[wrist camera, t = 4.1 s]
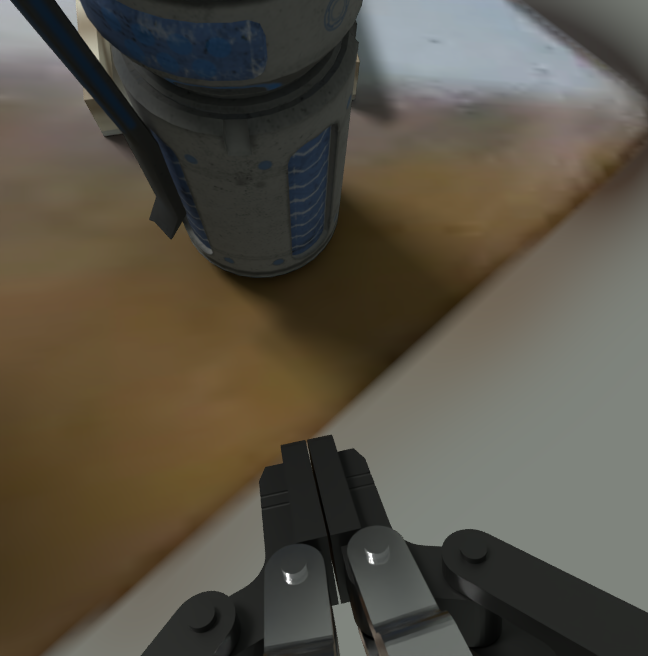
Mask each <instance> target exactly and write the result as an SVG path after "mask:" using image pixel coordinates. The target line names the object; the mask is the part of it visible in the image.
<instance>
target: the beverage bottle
mask: <svg viewBox="0 0 648 656" xmlns="http://www.w3.org/2000/svg"><path fill="white" fill-rule="evenodd" d="M10 1H11V2H12V3H13V4H14V5H15V7H16V8H17V9H18V10H19V11H20V13H21V14H22V15H23V16H24V17H25V18H26V20H27V21H28V22H29V23H30V24H31V26H32V27H33V28H34V29H35V30H36V31H37V33H38V34H39V35H40V36H41V37H42V39H43V40H44V41H45V42H46V43H47V45H48V46H49V47H50V48H51V49H52V50H53V52H54V53H55V54H56V55H57V56H58V58H59V59H60V60H61V61H62V62H63V63H64V65H65V66H66V67H67V68H68V69H69V71H70V72H71V73H72V74H73V75H74V76H75V78H76V79H77V80H78V81H79V82H80V84H81V85H82V86H83V87H84V88H85V89H86V91H87V92H88V93H89V94H90V95H91V97H92V98H93V99H94V100H95V101H96V103H97V104H98V105H99V106H100V107H101V108H102V110H103V111H104V112H105V113H106V114H107V116H108V117H109V118H110V119H111V120H112V121H113V123H114V124H115V125H116V126H117V127H118V129H119V130H120V131H121V132H122V133H123V135H124V136H125V138H126V140H127V142H128V144H129V146H130V148H131V150H132V152H133V153H134V155H135V157H136V159H137V161H138V163H139V165H140V167H141V169H142V170H143V172H144V174H145V176H146V178H147V180H148V182H149V184H150V186H151V188H152V189H153V191H154V193H155V195H156V199H155V203H154V206H153V209H152V212H151V215H150V219H149V220H151V221H154V222H155V223H156V224H157V225H158V226H159V227H160V228H161V229H162V230H163V232H164V233H165V234H166V235H167V236H168V237H169V238H170V239H172V238H173V237H174V235H175V233H176V231H177V230H178V228H179V226H180V224H181V223H182V221H183V223H184V226H185V228H186V230H187V232H188V235H189V237H190V239H191V241H192V243H193V244H194V246H195V247H196V248H197V250H198V251H199V252H200V253H201V254H202V255H203V256H204V257H205V258H206V259H207V260H209V261H210V262H211V263H212V264H214V265H216V266H218V267H219V268H221V269H223V270H225V271H228V272H231V273H234V274H237V275H240V276H247V277H254V278H260V277H274V276H278V275H283V274H287V273H289V272H292V271H294V270H297V269H299V268H301V267H303V266H304V265H306V264H307V263H309V262H310V261H312V260H313V259H314V258H315V257H316V256H317V255H318V254H319V253H320V252H322V251H323V250H324V248H325V247H326V245H327V244H328V242H329V241H330V239H331V238H332V236H333V233H334V231H335V228H336V225H337V221H338V214H339V206H340V198H341V189H342V180H343V172H344V163H345V155H346V146H347V138H348V129H349V121H350V112H351V103H352V95H353V86H354V78H355V69H356V61H357V52H358V44H359V42H358V41H357V40H356V39H355V37H356V28H357V23H356V20H355V19H356V17H357V15H358V13H359V10H360V8H361V6H362V1H363V0H80V2H81V5H82V7H83V9H84V11H85V14H86V16H87V18H88V19H89V20H90V22H91V23H92V24H93V25H94V27H95V28H96V29H97V30H98V32H99V33H100V34H101V36H102V37H103V38H105V39H106V40H107V41H108V42H109V43H111V49H112V55H113V62H114V65H115V68H116V70H117V72H118V75H119V77H120V79H121V81H122V84H123V86H124V88H125V91H126V93H127V95H128V97H129V100H130V102H131V104H132V106H131V105H130V103H129V102H128V101H127V99H126V98H125V96H124V95H123V94H122V92H121V91H120V89H119V88H118V87H117V85H116V84H115V83H114V81H113V80H112V78H111V77H110V76H109V74H108V73H107V72H106V70H105V69H104V67H103V66H102V65H101V63H100V62H99V60H98V59H97V58H96V56H95V55H94V54H93V52H92V51H91V49H90V48H89V47H88V45H87V44H86V43H85V41H84V40H83V38H82V37H81V36H80V34H79V33H78V31H77V30H76V29H75V27H74V26H73V25H72V23H71V22H70V20H69V19H68V18H67V16H66V15H65V14H64V12H63V11H62V9H61V8H60V7H59V5H58V4H57V2H56V1H55V0H10Z"/></svg>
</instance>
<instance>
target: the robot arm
mask: <svg viewBox="0 0 648 656" xmlns="http://www.w3.org/2000/svg"><path fill="white" fill-rule="evenodd" d="M307 442H308V448H309V454H310V459H309V454H308V450H307V446H306V441H305V440H303V441H298V442H293V443H289V444H284V445H281V452H282V458H283V463H282V464H278V465H273V466H268V467H265V469H264V471H263V474H262V476H261V478H260V481H259V486H260V496H261V508H262V520H263V531H264V542H265V563H264V566H263V568H262V570H261V572H260V574H259V575H258V576H257V577H256V578H255V580H254V581H253V582H251V583H250V584H249V585H248V586H246V587H245V588H243V589H241V590H240V591H238V592H236V593H234V594H233V595H231V596H229V597H228V596H227V595H225V594H224V593H221V592H216V591H207V592H202V593H199V594H197V595H195V596H193V597H191V598H190V599H188V600H187V601H186V602H184V603H183V604H182V605H181V607H180V608H179V609H178V610H177V611H176V613H175V614H174V615H173V616H172V617H171V619H170V620H169V621H168V622H167V624H166V625H165V626H164V627H163V629H162V630H161V631H160V632H159V634H158V635H157V636H156V637H155V639H154V640H153V641H152V643H151V644H150V645H149V646H148V647H147V649H146V650H145V651H144V652H143V654H142V655H141V656H340V653H339V645H338V637H337V632H336V626H335V620H334V614H333V609H332V606H333V605H337V604H338V597H337V591H336V585H335V579H334V573H335V578H336V582H337V586H338V591H339V595H340V600H341V603H346V602H350V603H351V608H352V611H353V615H354V619H355V622H356V624H357V626H358V630H359V634H360V637H361V640H362V643H363V646H364V649H365V652H366V655H367V656H648V613H647V612H645V611H643V610H641V609H639V608H637V607H635V606H633V605H631V604H629V603H627V602H625V601H623V600H621V599H619V598H617V597H615V596H613V595H611V594H609V593H607V592H605V591H603V590H601V589H598V588H597V587H595V586H593V585H591V584H588V583H587V582H585V581H582V580H581V579H579V578H576V577H574V576H572V575H570V574H568V573H566V572H564V571H562V570H560V569H558V568H556V567H554V566H552V565H550V564H548V563H546V562H544V561H542V560H540V559H538V558H536V557H534V556H532V555H530V554H528V553H526V552H524V551H522V550H520V549H518V548H516V547H514V546H512V545H510V544H508V543H505V542H504V541H502V540H500V539H497V538H496V537H494V536H491V535H489V534H487V533H485V532H482V531H479V530H473V529H465V530H460V531H456V532H454V533H452V534H451V535H449V536H448V537H447V538H446V540H445V541H444V543H443V546H442V547H439V546H423V545H416V544H412V543H410V542H407V541H405V540H404V539H403V537H402V536H401V535H400V534H399V533H398V532H397V531H395V530H393V529H392V527H391V525H390V523H389V520H388V517H387V515H386V512H385V509H384V507H383V504H382V502H381V499H380V496H379V494H378V491H377V488H376V486H375V484H374V481H373V478H372V475H371V474H370V470H369V468H368V465H367V462H366V460H365V458H364V457H363V456H362V455H360V454H359V453H358V452H357V451H356V450H355V449H348V450H344V451H339V452H337V449H336V446H335V443H334V439H333V436H332V435H327V436H322V437H318V438H313V439H308V440H307ZM310 460H311V463H310ZM311 466H312V467H311ZM312 471H313V472H312ZM331 560H332V561H331ZM332 564H333V567H332ZM333 568H334V573H333Z"/></svg>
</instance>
